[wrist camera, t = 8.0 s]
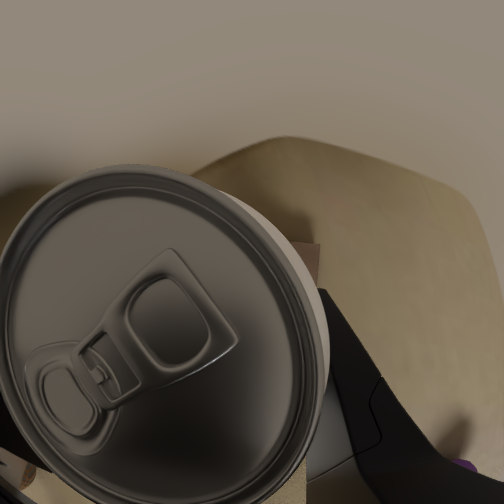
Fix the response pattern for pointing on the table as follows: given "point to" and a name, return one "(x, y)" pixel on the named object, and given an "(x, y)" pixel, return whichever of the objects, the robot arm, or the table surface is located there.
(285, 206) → the table surface
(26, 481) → the vase
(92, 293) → the can
